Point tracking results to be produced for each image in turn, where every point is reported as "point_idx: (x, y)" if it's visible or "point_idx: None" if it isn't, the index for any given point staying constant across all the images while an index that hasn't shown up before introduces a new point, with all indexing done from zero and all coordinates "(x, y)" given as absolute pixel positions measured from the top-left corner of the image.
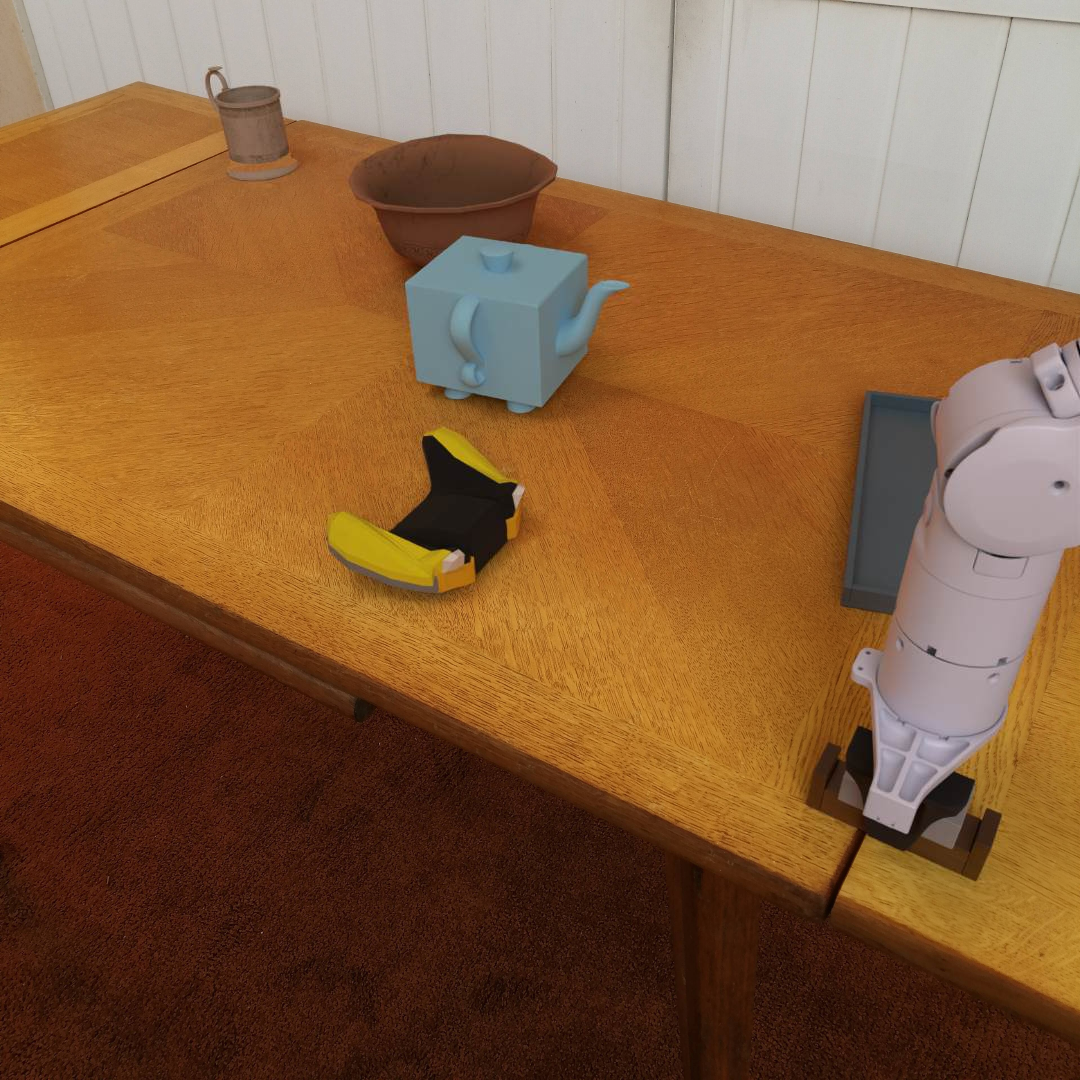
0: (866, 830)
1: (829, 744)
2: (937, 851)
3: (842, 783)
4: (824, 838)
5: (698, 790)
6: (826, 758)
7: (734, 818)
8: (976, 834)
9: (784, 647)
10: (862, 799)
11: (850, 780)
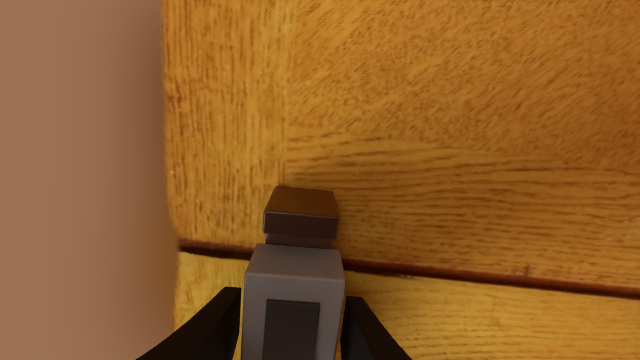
0: (222, 289)
1: (333, 220)
2: None
3: (249, 264)
4: (238, 219)
5: (228, 35)
6: (301, 223)
7: (208, 103)
8: None
9: (567, 75)
10: (169, 336)
11: (244, 284)
